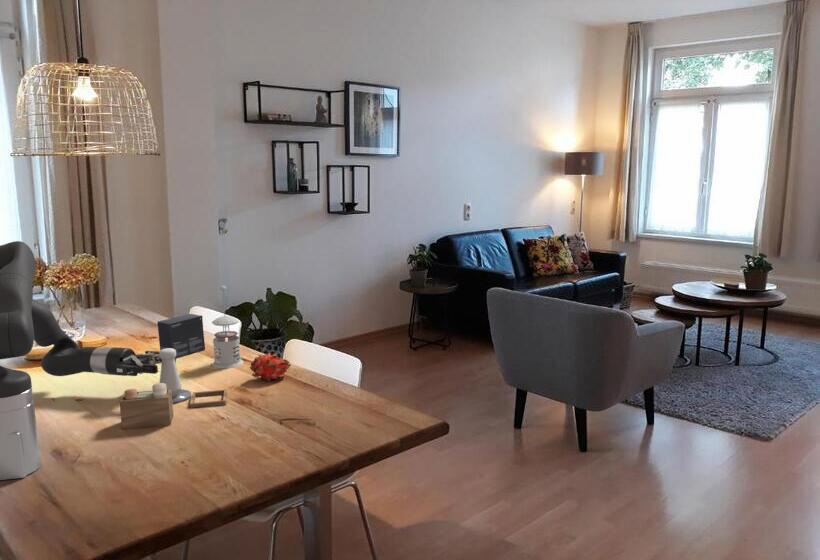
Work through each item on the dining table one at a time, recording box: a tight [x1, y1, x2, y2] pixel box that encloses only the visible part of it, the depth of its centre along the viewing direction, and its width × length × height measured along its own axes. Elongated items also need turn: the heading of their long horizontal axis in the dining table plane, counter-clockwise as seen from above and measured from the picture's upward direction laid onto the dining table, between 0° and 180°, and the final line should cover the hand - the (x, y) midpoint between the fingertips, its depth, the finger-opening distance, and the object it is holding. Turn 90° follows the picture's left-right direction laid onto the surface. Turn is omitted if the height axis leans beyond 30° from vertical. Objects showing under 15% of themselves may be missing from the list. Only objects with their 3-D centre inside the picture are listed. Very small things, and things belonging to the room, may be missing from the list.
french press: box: [211, 285, 244, 369], centre depth 205 cm, size 10×12×25 cm
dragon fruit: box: [249, 352, 292, 382], centre depth 191 cm, size 8×8×12 cm
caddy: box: [119, 382, 174, 430], centre depth 160 cm, size 6×11×9 cm, turn 103°
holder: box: [189, 389, 228, 409], centre depth 175 cm, size 9×9×1 cm
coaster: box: [172, 388, 192, 405], centre depth 177 cm, size 10×10×1 cm
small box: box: [156, 313, 206, 359], centre depth 217 cm, size 13×7×12 cm, turn 146°
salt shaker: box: [159, 348, 182, 398], centre depth 176 cm, size 6×6×13 cm
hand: (166, 364), depth 176 cm, fingers open, 8 cm apart
